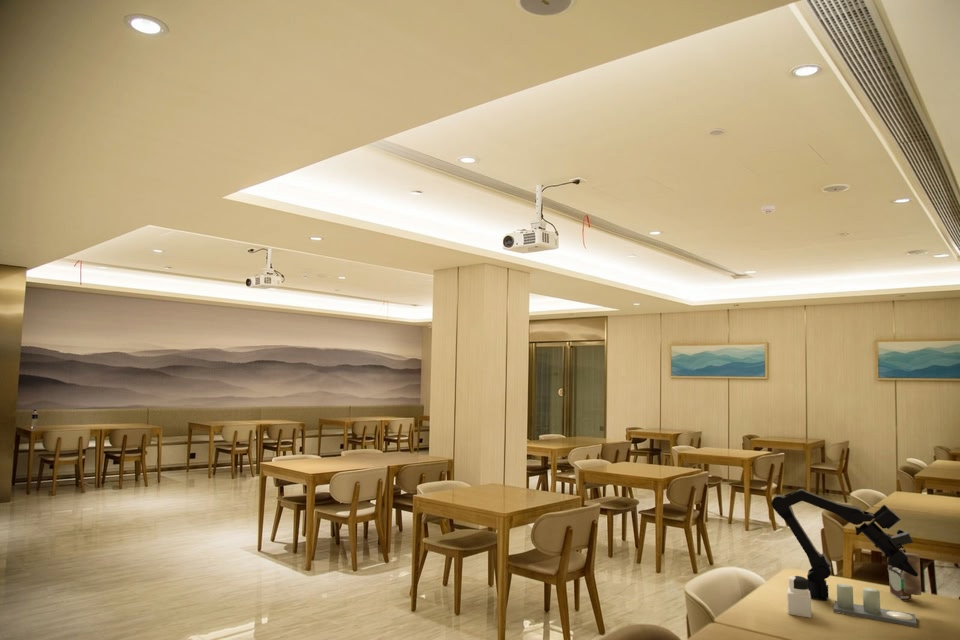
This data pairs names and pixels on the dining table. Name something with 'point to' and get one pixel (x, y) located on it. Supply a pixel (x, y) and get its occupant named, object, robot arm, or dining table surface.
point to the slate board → (879, 615)
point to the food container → (897, 583)
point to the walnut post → (911, 582)
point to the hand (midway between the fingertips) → (916, 574)
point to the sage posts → (869, 598)
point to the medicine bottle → (799, 597)
